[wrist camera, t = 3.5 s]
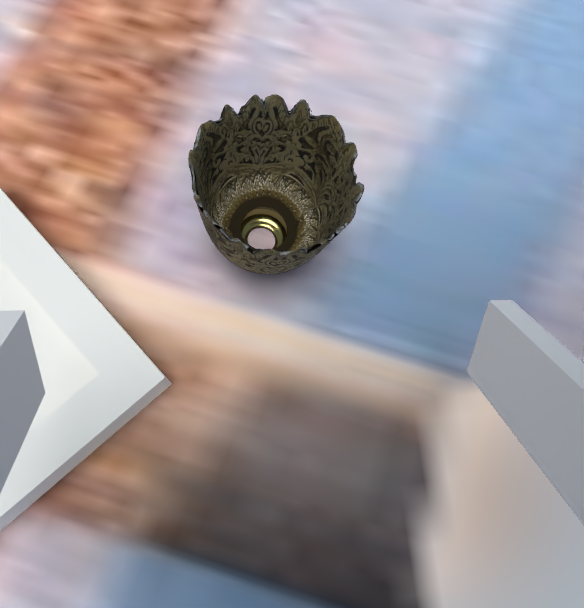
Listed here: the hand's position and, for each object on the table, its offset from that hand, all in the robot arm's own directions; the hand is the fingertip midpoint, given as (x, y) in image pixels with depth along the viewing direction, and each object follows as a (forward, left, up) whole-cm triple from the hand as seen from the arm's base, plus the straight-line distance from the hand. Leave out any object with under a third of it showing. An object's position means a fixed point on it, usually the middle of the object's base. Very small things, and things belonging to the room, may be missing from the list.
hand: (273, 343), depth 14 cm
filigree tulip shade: (-6, -6, -12) cm, 15 cm away
